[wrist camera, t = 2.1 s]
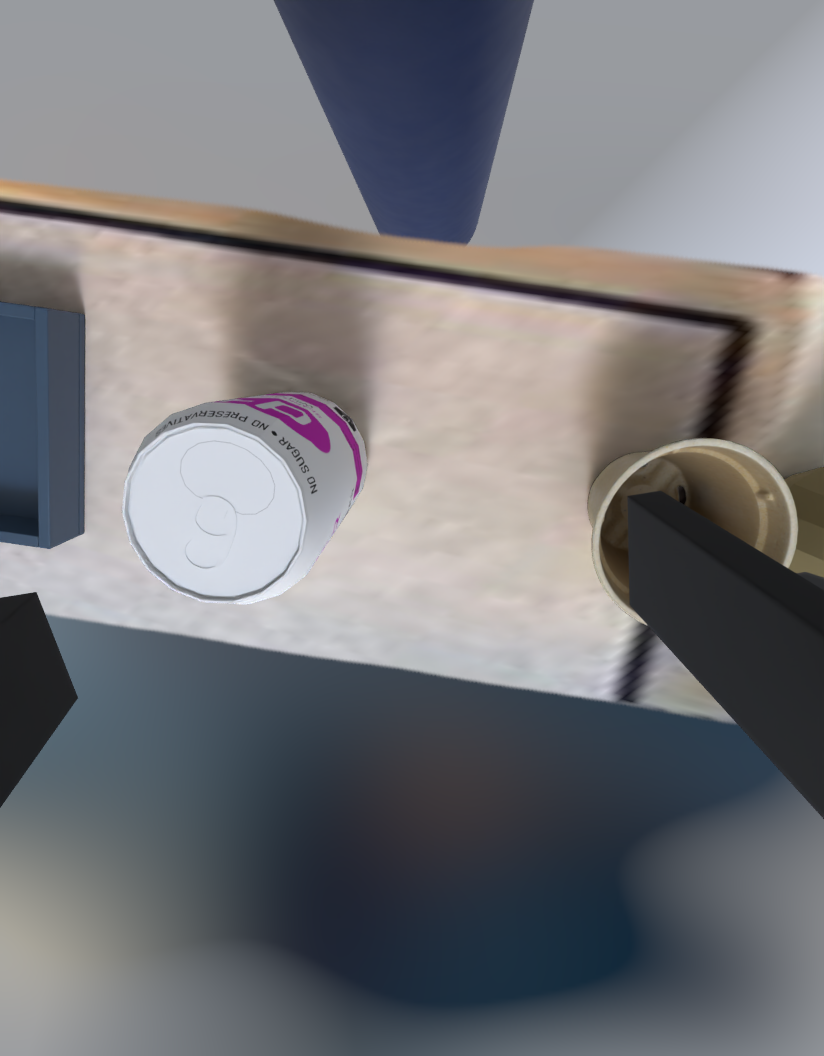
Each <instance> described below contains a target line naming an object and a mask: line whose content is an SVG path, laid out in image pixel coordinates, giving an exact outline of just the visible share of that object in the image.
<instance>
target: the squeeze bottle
mask: <svg viewBox="0 0 824 1056" xmlns="http://www.w3.org/2000/svg"><path fill="white" fill-rule="evenodd" d="M785 482H786V484H787V485H788V487H789V489H790V492H791V494H792V497H793V500H794V503H795V507H796V512H797V519H798V535H797V544H796V549H795V554H794V556H793V559H792V562H791V564H790V566H789V568H788V569H790V570H792V571H793V572H795V573H801V572H808V573H811V574H814V575H817V576H820V577H824V467H820V468H817V469H813V470H809V471H806V472H802V473H799V474H795V475H791V476H790V477H788V478H786V479H785Z"/></svg>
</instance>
